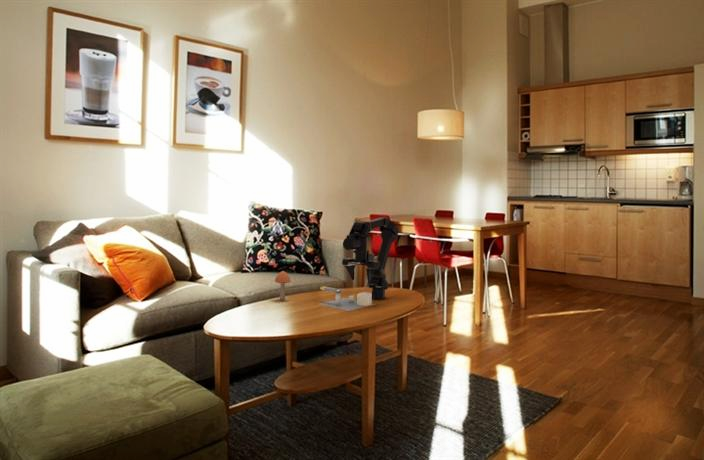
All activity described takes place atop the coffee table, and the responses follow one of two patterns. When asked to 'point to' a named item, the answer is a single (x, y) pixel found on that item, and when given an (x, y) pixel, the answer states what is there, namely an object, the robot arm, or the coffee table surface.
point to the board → (344, 303)
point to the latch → (331, 289)
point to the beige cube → (364, 298)
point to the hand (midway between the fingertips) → (360, 281)
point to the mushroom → (282, 283)
